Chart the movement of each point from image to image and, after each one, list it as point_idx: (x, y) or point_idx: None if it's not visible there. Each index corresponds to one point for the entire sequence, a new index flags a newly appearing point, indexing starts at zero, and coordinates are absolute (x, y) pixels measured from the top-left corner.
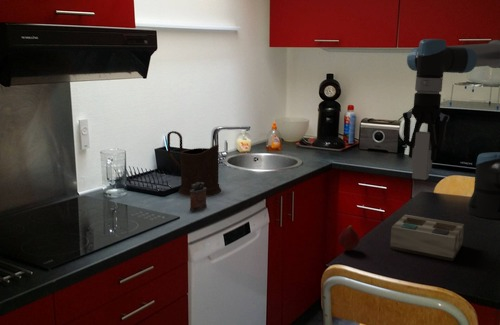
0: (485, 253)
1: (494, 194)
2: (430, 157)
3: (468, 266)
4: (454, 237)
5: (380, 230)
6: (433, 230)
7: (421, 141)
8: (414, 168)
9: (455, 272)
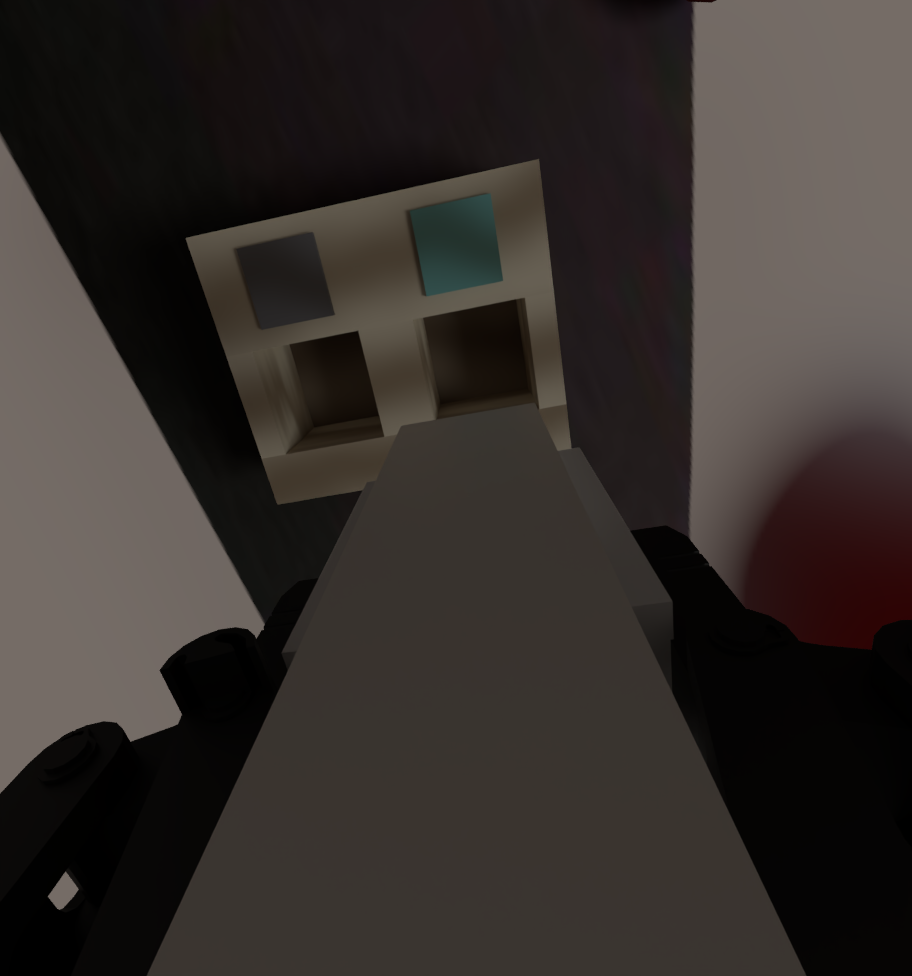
0: (205, 445)
1: None
2: (325, 574)
3: (166, 237)
4: (190, 246)
5: (667, 410)
6: (318, 265)
7: (469, 734)
8: (527, 435)
9: (160, 109)
